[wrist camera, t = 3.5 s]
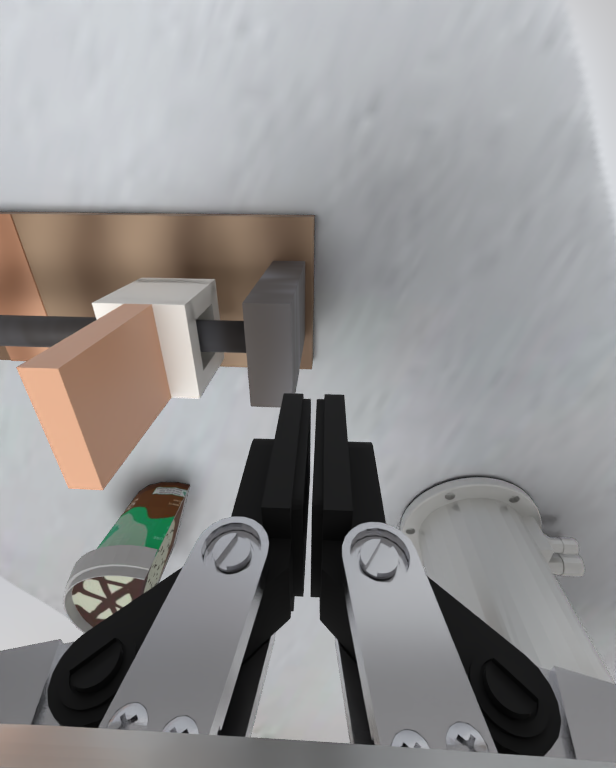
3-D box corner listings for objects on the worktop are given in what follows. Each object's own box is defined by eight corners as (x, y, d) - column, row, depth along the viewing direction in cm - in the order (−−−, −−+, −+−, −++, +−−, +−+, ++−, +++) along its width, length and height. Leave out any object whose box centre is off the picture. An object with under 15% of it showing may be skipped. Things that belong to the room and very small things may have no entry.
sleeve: (215, 279, 19) (107, 370, 10) (224, 357, 21) (143, 491, 12) (141, 277, 19) (-32, 365, 10) (158, 356, 22) (29, 486, 12)
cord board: (314, 215, 23) (301, 242, 13) (312, 360, 28) (301, 463, 18) (-110, 210, 24) (-428, 232, 14) (-40, 349, 29) (-238, 440, 19)
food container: (127, 454, 33) (55, 552, 25) (193, 474, 34) (145, 575, 25) (116, 537, 39) (55, 639, 30) (173, 552, 40) (128, 656, 31)
